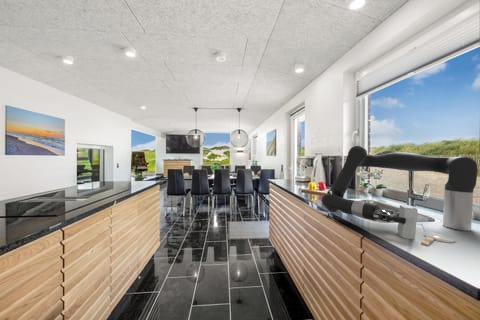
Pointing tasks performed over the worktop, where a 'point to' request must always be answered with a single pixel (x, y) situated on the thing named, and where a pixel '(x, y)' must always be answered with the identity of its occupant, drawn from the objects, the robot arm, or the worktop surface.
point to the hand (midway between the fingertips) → (409, 219)
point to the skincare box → (407, 221)
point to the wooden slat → (427, 241)
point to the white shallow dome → (440, 237)
